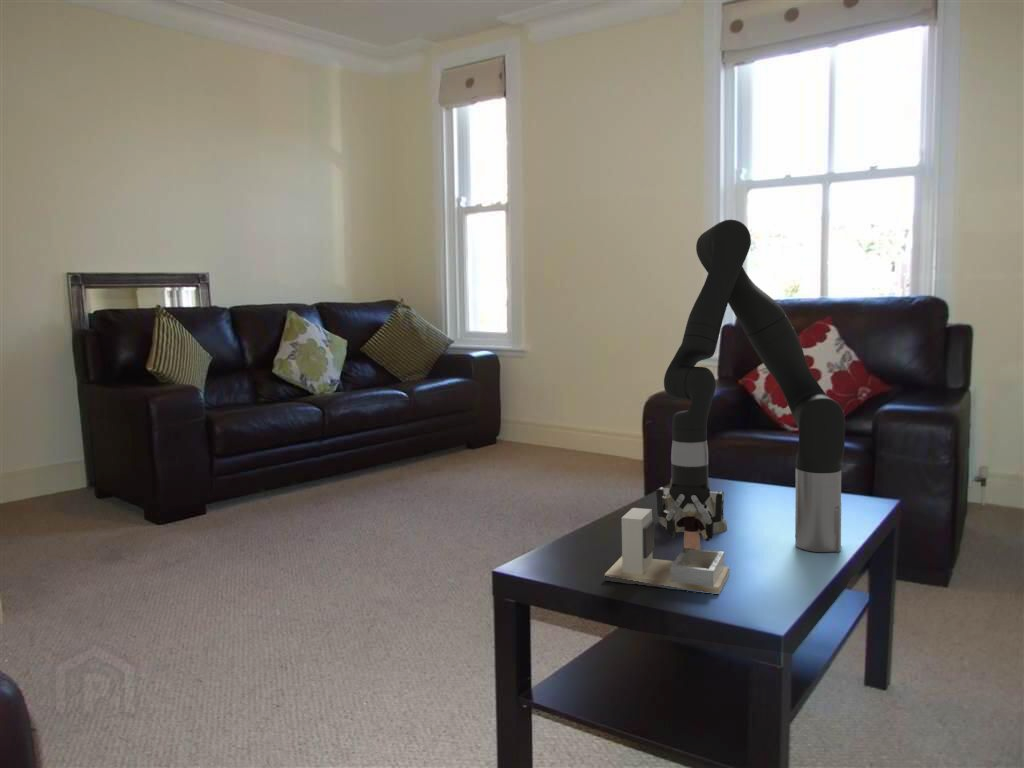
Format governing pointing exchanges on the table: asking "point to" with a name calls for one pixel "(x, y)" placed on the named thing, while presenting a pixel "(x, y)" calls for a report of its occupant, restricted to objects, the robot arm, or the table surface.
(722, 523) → the beige jagged towered block
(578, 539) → the table surface
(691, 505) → the grandmother figurine
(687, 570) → the slot walls
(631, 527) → the white box with panel
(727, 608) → the table surface
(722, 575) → the cream base plate
